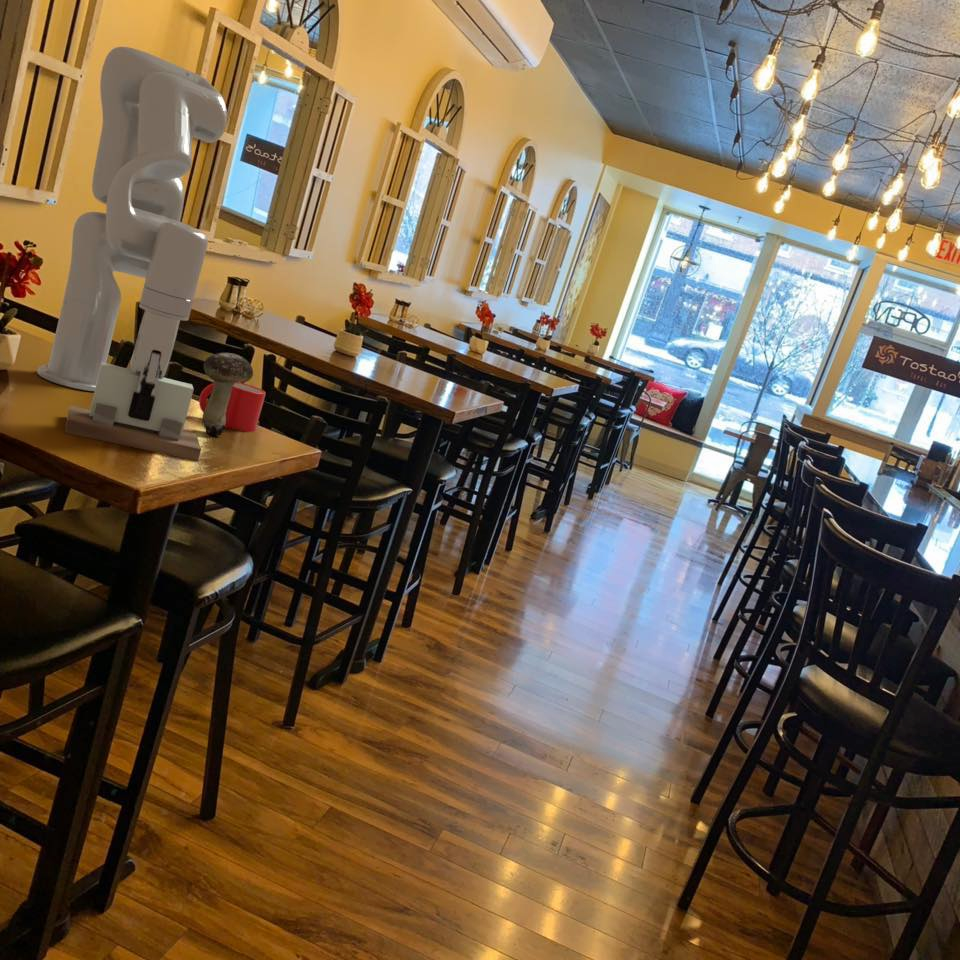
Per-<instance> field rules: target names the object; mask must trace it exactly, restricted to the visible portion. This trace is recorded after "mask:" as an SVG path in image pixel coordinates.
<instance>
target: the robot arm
mask: <svg viewBox="0 0 960 960" xmlns="http://www.w3.org/2000/svg"><path fill="white" fill-rule="evenodd" d="M99 84H100V85H99V86H100V87H99V89H100V92H99V94H100V101H101V109H102V110H101V111H102V125H101V126H102V127H101V133H100V136H99V141H98V142H99V143H98V148H97V152H96V153H97V154H96V158H95V163H94V169H93V177H92V184H91V189H92V194H93V196H94V198H95V199H96V200H97V201H98V202H99V203H101V204H103V205H105V206H106V209H105V210H106V211H105V212H106V213H105V212H102V211H101V212H100V211H89V212H85V213H82V214H81V215H80V216H79V217H78V218H77V219H76V220H75V223H74V226H73V230H72V242H71V258H70V266H69V272H68V277H67V282H66V285H65V286H66V287H65V290H64V295H63V300H62V304H61V309H60V313H59V318H58V321H57V325H56V326H57V327H56V331H55V335H54V339H53V343H52V348H51V352H50V357H49V361H48V364H46V365H40V366H38V368H37V372H36V373H37V375H39V377H41V378H43V379H44V380H47V381H49V382H52V383H54V384H58V385H60V386H64V387H67V388H72V389H76V390H81V391H88V392H95V388H96V384H97V380H98V376H99V371H100V367H101V363H102V362H103V363H107V361H108V357H109V353H110V349H111V344H112V340H113V336H114V332H115V329H116V328H115V327H116V324H117V318H118V315H119V312H120V307H121V303H122V292H121V290H120V287H119V285H118V283H117V280H116V278H115V276H114V272H118V273H123V274H127V275H131V276H135V277H139V278H143V279H145V280H144V281H145V282H144V284H143V285H144V286H143V288H142V293H141V298H140V301H139V305H138V307H139V308H140V309H142V310H144V313H143V316H142V319H141V323H140V325H139V330H138V332H137V337H136V341H135V345H134V349H133V353H132V357H131V360H130V369H131V370H132V372H133V373H136V371H138V372H140V375H139V381H138V385H137V389H136V392H134V393H133V397H132V401H131V405H130V409H129V413H128V415H129V417H131V418H136V419H140V420H144V421H149V419H150V415H151V411H152V408H153V404H154V400H155V397H154V395H155V391H156V387H157V383H158V379H162V378H165V375H166V372H167V370H168V367H169V363H170V360H171V357H172V354H173V350H174V346H175V343H176V339H177V335H178V330H179V326H180V322H181V321H185V322H186V321H189V320H190V315H191V312H192V307H193V304H194V299H195V296H196V292H197V287H198V284H199V280H200V275H201V272H202V268H203V264H204V261H205V257H206V253H207V248H208V243H209V242H208V238H207V235H206V234H204V233H203V232H201V231H200V230H197V229H195V228H194V227H192V226H191V225H189V224H186V223H185V222H182V221H181V219H182V214H183V209H184V202H185V189H184V185H183V184H184V183H182V180H181V177H183V176H185V175H186V174H188V173H189V172H190V170H191V168H192V165H193V138H195V139H197V140H200V141H203V142H204V143H209V144H210V143H211V144H212V143H215V142H217V141H219V140H220V139H221V137H222V136H223V134H224V133H225V130H226V127H227V121H228V110H227V106H226V101H225V100H224V97H223V96H222V94H221V92H219V91H218V89H216V88H215V86H213V85H212V84H211V83H210V82H209V80H207V79H206V78H205V77H203V76H201V75H200V74H198V73H195V72H194V71H190V70H188V69H186V68H184V67H181V66H178V65H176V64H175V63H171V62H169V61H167V60H165V59H163V58H162V57H161V58H160V57H159V56H155V55H153V54H150V53H148V52H146V51H143V50H140V49H137V48H134V47H133V48H132V47H129V46H116V47H114V48H112V49H111V50H110V51H109V52H108V53H107V55H106V57H105V59H104V61H103V64H102V67H101V75H100V83H99ZM143 373H147V375H145V374H143ZM143 378H144V379H146V380H143ZM141 385H142V386H141Z"/></svg>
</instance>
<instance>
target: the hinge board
mask: <svg viewBox="0 0 960 960" xmlns="http://www.w3.org/2000/svg"><path fill="white" fill-rule="evenodd" d="M116 411H117V407H113V406H108V405H104V404H99V403H97V404H96V408H95V412H94V416H90V409H88V408H83V407H81V406H80V407H79V406H75V405H69V408H68V412H67V416H66V417H67V418H66V422H65V426H64V427H65V429H64V433H65V434H69V435H74V436H78V437H79V436H80V437H82V438H83V437H84V438H89V439H94V440H97V441H102V442H107V443H112V444H116V445H121V446H126V447H130V448H135V449H140V450H145V451H149V452H150V451H151V452H154V453H160V454H163V455H169V456H173V457H176V458H177V457H178V458H183V459H187V460H192V461H197V462H198V461H199V459H200V455H201V452H202V451H201V450H202V447H201V443H200V441H199V439H198V436H197V433H195V432H192V431H186V430H183V432H182V436H179V435H180V432H181V428H182V424H183V423H182V422H178V421H174V420H170V419H165V418H163V421H162V425H161V428H160V431H156V430H151V429H147V428H142V427H138V426H133V425H129V424H124V423H120V422H115V421H114V419H115V415H116Z"/></svg>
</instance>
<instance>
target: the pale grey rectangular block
mask: <svg viewBox="0 0 960 960" xmlns="http://www.w3.org/2000/svg"><path fill="white" fill-rule="evenodd" d="M143 374H145V375H147V373H143ZM139 375H140V372H138V371H136V373H133V372H132V370H131V368H127V367H122V366H119V365H114V364H111V363H107V362H106V363H103V362H102V363H101V367H100V371H99V376H98V380H97V384H96V388H95V391H93V392H94V393H93V397H92V401H91V404H90V409H89V410H90V416H94V412H95V408H96V404H97V403H99V404H104V405H108V406H113V407H117V411H116V415H115V419H114V421H115V422H120V423H124V424H129V425H133V426H138V427H142V428H147V429H151V430H156V431H160V428H161V425H162V421H163V418H165V419H170V420H174V421H178V422H182V423H183V424H182V428H181V432H180V435H179V436H182V432H183V431H184V427H185V424H186V421H187V420H186V419H187V416H188V412H189V409H190V405H191V402H192V396H193V393H194V391H195V390H194V386H193V384H192V383H187V382H183V381H179V380H175V379H172V378H167V377H164V378H162V379H158V383H157V387H156V391H155V395H154V397H155V400H154V404H153V408H152V411H151V415H150V419H149V421H144V420H140V419H136V418H131V417H129V415H128V413H129V409H130V405H131V401H132V397H133V393H134V392H136V389H137V385H138V381H139ZM143 380H146V379H144V378H143ZM141 386H142V385H141Z"/></svg>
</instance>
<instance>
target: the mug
mask: <svg viewBox="0 0 960 960" xmlns="http://www.w3.org/2000/svg"><path fill="white" fill-rule="evenodd" d="M213 387H214V383H213V382H212V383H210V384H209V385H207V386H206V387H204V388H203V390H202V391H201V393H200V395H199V398H198V399H199V400H198V404H199V408H200V410H201V412H202V414H203V413H204V411H205V408H206V406H207V403H208V397H210V396H209V395H211V394H212V391H213ZM265 397H266V391H265V390H263V389H262V388H260V387H256V386H254V385H251V384H247V383H245V382H240V383H235V384H234V385H233V387H232V390H231V394H230V398H229V401H228V405H227V408H226V413H225V416H226V424H225V425H224V427H226V426H227V427H226V428H228V427H230V428H229V429H231V428H234V429H233V430H235V429H238V430H237V431H239V430H241V431H240V432H247V433H255V432H256V430H257V427H258V424H259V419H260V416H261V411H262V408H263V405H264V402H265Z"/></svg>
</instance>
